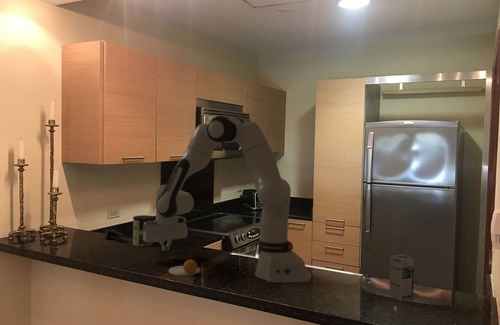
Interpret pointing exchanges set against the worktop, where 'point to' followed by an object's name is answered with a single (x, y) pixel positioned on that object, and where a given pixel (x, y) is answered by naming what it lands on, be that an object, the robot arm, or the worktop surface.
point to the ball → (190, 266)
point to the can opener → (114, 235)
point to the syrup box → (401, 277)
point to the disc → (181, 271)
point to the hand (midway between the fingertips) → (165, 249)
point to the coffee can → (140, 229)
